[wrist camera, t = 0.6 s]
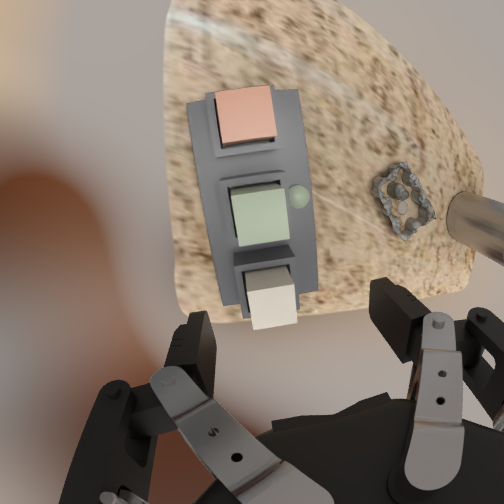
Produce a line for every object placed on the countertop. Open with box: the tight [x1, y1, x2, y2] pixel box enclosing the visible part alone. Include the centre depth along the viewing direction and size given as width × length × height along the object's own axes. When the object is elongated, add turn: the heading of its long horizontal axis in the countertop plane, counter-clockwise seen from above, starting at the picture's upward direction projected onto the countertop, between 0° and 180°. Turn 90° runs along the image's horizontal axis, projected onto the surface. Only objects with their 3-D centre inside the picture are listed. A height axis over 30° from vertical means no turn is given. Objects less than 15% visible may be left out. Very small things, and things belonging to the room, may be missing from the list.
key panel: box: [186, 85, 318, 319], centre depth 33 cm, size 14×28×6 cm, turn 8°
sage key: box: [231, 182, 290, 247], centre depth 29 cm, size 5×5×6 cm
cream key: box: [245, 265, 297, 330], centre depth 32 cm, size 5×5×6 cm
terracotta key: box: [215, 86, 277, 146], centre depth 25 cm, size 5×5×6 cm
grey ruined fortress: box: [371, 161, 436, 241], centre depth 35 cm, size 11×8×4 cm
